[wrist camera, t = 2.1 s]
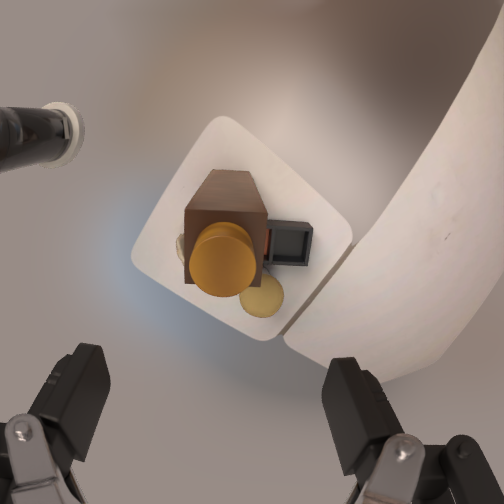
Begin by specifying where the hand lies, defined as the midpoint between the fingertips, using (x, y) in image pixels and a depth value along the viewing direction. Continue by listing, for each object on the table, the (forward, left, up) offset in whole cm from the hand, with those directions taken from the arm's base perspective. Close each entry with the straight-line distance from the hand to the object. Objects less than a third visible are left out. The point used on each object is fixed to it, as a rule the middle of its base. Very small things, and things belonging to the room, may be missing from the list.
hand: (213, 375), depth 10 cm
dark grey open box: (+7, -8, -38) cm, 39 cm away
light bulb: (+6, -14, -38) cm, 41 cm away
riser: (0, 0, -38) cm, 38 cm away
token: (0, 0, -12) cm, 12 cm away
